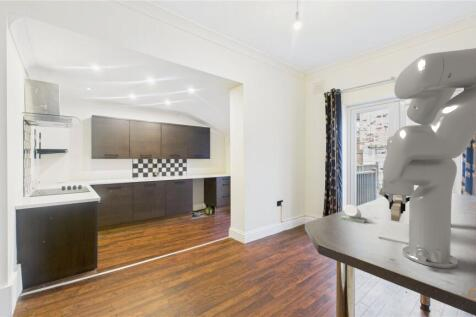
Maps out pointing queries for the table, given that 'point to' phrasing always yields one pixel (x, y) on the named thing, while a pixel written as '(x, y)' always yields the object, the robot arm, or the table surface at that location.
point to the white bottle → (352, 211)
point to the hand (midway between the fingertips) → (397, 211)
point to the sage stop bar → (353, 219)
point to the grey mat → (396, 232)
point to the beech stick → (396, 209)
